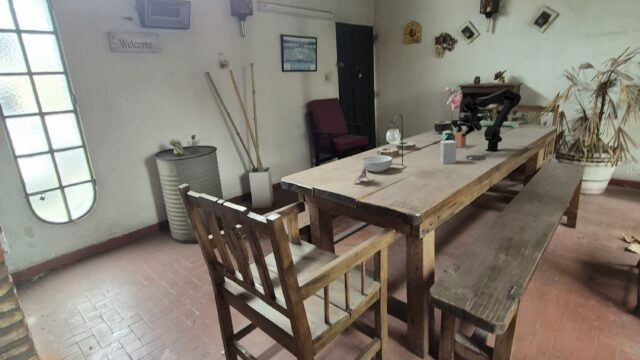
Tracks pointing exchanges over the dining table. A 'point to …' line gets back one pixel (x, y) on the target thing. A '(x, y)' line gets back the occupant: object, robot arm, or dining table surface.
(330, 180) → the dining table surface
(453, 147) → the supplement box
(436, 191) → the dining table surface
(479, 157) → the charcoal dinner plate
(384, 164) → the cereal bowl
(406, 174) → the dining table surface
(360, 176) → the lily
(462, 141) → the upright salmon prism
